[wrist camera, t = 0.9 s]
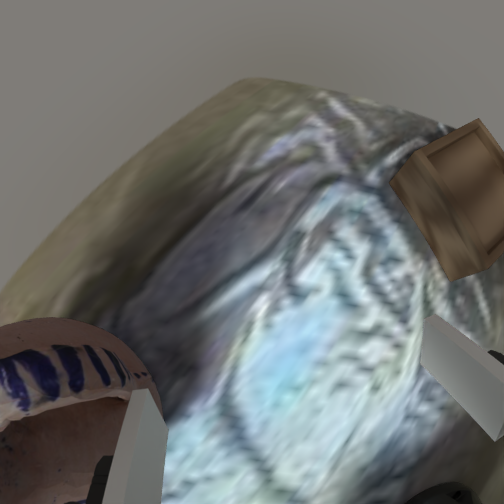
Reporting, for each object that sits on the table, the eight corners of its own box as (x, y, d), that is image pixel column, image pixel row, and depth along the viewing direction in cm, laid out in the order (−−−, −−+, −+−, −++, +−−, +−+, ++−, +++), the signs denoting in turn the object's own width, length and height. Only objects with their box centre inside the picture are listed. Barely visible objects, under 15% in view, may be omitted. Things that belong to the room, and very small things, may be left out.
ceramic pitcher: (24, 377, 30) (-141, 376, 6) (135, 270, 33) (-40, 152, 9) (109, 492, 26) (-21, 595, 2) (241, 398, 30) (196, 553, 5)
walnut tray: (505, 228, 34) (538, 210, 27) (450, 281, 32) (487, 268, 25) (452, 146, 37) (478, 117, 30) (388, 183, 35) (414, 151, 28)
